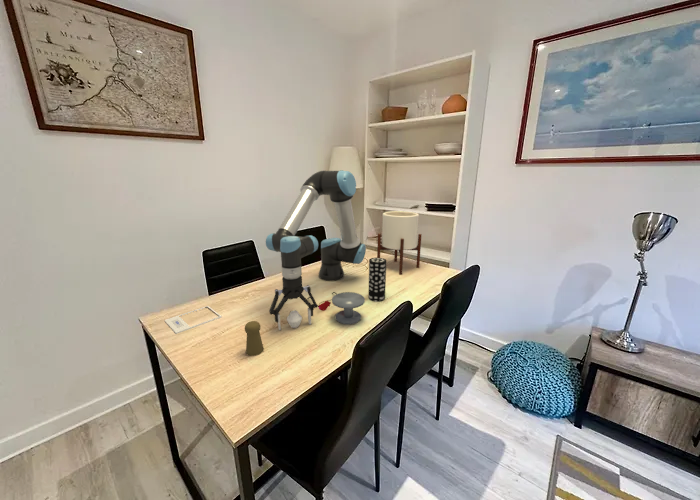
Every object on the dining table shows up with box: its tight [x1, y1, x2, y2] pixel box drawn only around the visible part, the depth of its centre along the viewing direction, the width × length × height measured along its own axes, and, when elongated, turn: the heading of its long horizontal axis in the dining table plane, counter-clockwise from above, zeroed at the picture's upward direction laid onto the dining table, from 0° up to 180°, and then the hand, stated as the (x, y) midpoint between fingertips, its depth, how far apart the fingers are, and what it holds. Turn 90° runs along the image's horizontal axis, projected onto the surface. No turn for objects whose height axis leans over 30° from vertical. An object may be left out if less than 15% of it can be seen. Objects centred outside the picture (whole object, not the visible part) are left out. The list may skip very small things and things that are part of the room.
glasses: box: [306, 291, 338, 312], centre depth 138 cm, size 14×16×5 cm
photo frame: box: [164, 305, 223, 335], centre depth 122 cm, size 15×1×18 cm
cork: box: [244, 320, 265, 357], centre depth 99 cm, size 6×6×11 cm
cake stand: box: [331, 291, 366, 325], centre depth 122 cm, size 14×14×9 cm
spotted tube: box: [368, 257, 387, 303], centre depth 140 cm, size 8×8×20 cm
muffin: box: [286, 309, 303, 329], centre depth 116 cm, size 6×6×7 cm
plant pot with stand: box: [376, 210, 422, 276], centre depth 183 cm, size 22×22×36 cm
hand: (294, 325), depth 117 cm, fingers open, 12 cm apart
